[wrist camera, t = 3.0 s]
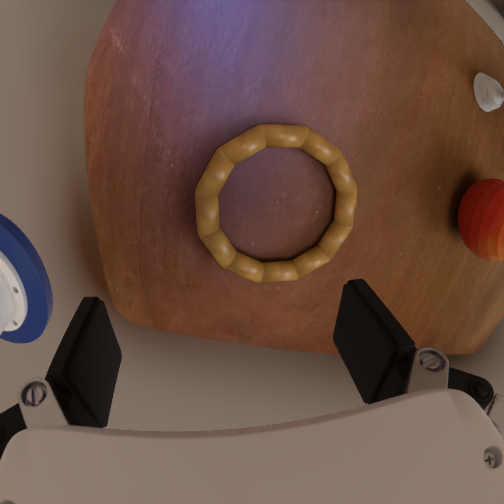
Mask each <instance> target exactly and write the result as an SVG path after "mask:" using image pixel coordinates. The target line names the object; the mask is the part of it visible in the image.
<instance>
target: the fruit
mask: <svg viewBox="0 0 504 504" xmlns="http://www.w3.org/2000/svg"><path fill="white" fill-rule="evenodd" d="M457 219H458V227H459V231H460V234H461V237H462V239H463V241H464V243H465V245H466V246H467V247H468V248H469V249H470V250H471V251H472V252H473V253H474V254H475V255H476V256H477V257H479V258H482V259H484V260H489V261H500V260H504V182H503V181H501V180H498V179H493V178H492V179H485V180H480V181H478V182H476V183H475V184H473V185H472V186H471V187H469V188H468V189H467V191H466V192H465V193H464V195H463V197H462V200H461V202H460V206H459V209H458V218H457Z"/></svg>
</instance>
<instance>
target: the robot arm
mask: <svg viewBox="0 0 504 504" xmlns="http://www.w3.org/2000/svg"><path fill="white" fill-rule="evenodd" d="M27 310H28V304H27V297H26V292H25V289H24V286H23V283H22V281H21V279H20V277H19V275H18V273H17V271H16V270H15V268H14V266H13V265H12V263H11V262H10V261H9V259H8V258H7V257H6V256H5V255H4V254H3V253H2V252H1V251H0V335H1V333H2V332H3V331H13V330H16V329H18V328H19V327H20V326H21V325H22V323H23V322H24V320H25V318H26V315H27ZM333 340H334V343H335V345H336V347H337V349H338V351H339V353H340V355H341V357H342V359H343V361H344V363H345V365H346V367H347V369H348V371H349V372H350V375H351V377H352V379H353V381H354V383H355V385H356V387H357V389H358V391H359V393H360V395H361V397H362V399H363V401H364V402H365V403H366V404H367V403H368V405H365V406H361V407H357V408H353V409H350V410H346V411H341V412H337V413H333V414H328V415H324V416H319V417H315V418H309V419H304V420H298V421H293V422H287V423H280V424H274V425H266V426H259V427H249V428H240V429H229V430H214V431H189V432H157V431H155V432H154V431H132V430H118V429H105V428H103V427H106V426H107V423H108V418H109V413H110V408H111V403H112V398H113V393H114V389H115V384H116V380H117V376H118V371H119V367H120V363H121V359H122V358H121V357H122V354H121V350H120V347H119V344H118V342H117V339H116V336H115V334H114V331H113V328H112V325H111V322H110V319H109V316H108V313H107V310H106V307H105V304H104V302H103V301H102V300H99V298H98V297H84V298H83V300H82V301H81V303H80V305H79V307H78V309H77V311H76V313H75V314H74V316H73V318H72V320H71V322H70V324H69V326H68V328H67V330H66V332H65V334H64V336H63V338H62V341H61V343H60V345H59V347H58V349H57V351H56V353H55V356H54V358H53V360H52V362H51V365H50V367H49V369H48V372H47V375H46V377H45V379H43V378H32V379H30V380H28V381H26V382H25V383H24V384H23V385H22V386H21V388H20V390H19V392H18V402H19V403H18V404H16V405H14V406H13V407H11V408H9V409H7V410H6V411H4V412H3V413H1V414H0V504H504V397H503V396H502V395H500V394H498V393H497V394H496V395H494V391H493V388H492V386H491V384H490V383H489V382H488V381H487V380H486V379H484V378H481V377H479V376H476V375H472V374H470V373H466V372H463V371H460V370H457V369H454V368H451V367H449V361H448V358H447V356H446V355H445V354H444V353H443V352H442V351H441V350H439V349H437V348H435V347H431V346H424V347H421V348H419V349H418V350H417V348H416V347H415V346H414V345H415V343H414V341H413V340H412V339H411V337H410V336H409V335H408V334H407V332H406V331H405V330H404V328H403V327H402V326H401V325H400V323H399V322H398V321H397V320H396V318H395V317H394V316H393V314H392V313H391V312H390V311H389V310H388V308H387V307H386V306H385V305H384V303H383V302H382V301H381V300H380V298H379V297H378V296H377V295H376V294H375V292H374V291H373V290H372V289H371V288H370V286H369V285H368V284H367V283H366V282H365V280H363V279H354V280H349V281H348V282H347V284H345V285H344V287H343V291H342V297H341V301H340V306H339V311H338V316H337V320H336V325H335V329H334V333H333Z"/></svg>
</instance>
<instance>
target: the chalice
mask: <svg viewBox="0 0 504 504" xmlns="http://www.w3.org/2000/svg"><path fill="white" fill-rule="evenodd" d="M474 93H475V97H476V100H477V103H478V104H479V106H480V108H481V109H483V110H484V111H486V112H488V111H491V110H494V109H496V108H499V107H500V106H501V105H502V103H503V100H504V90H503V89H502V87H501V85H500V84H499V83H498V82H497V81H496V80H495V79H492V78H491V77H489V76H487V75H486V74H484V73H478V74H477V75H476V76H475V79H474Z"/></svg>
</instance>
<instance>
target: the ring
mask: <svg viewBox="0 0 504 504" xmlns="http://www.w3.org/2000/svg"><path fill="white" fill-rule="evenodd" d="M265 147H294V148H300V149H302V150H303V151H305V152H307V153H308V154H310V155H311V156H313V157H314V158H316V159H317V160H319V161H320V162H322V163H323V164H325V166H326V169H327V171H328V173H329V175H330V177H331V179H332V182H333V184H334V186H335V188H336V190H337V193H336V203H335V213H334V220H333V222H332V223H331V225H330V227H329V228H328V230H327V231H326V233H325V234H324V236H323V237H322V239H321V240H320V242H319V243H318V245H317V246H315V247H313V248H312V249H310V250H308V251H307V252H305V253H303V254H301V255H300V256H298V257H296V258H295V259H293V260H290V261H277V262H263V263H262V262H260V261H257V260H255V259H253V258H251V257H249V256H246V255H244V254H242V253H240V252H237V251H236V250H235V249H234V247H233V246H232V244H231V243H230V242H229V240H228V239H227V237H226V236H225V234H224V233H223V231H222V230H221V228H220V227H219V206H218V194H219V193H220V191H221V189H222V187H223V185H224V184H225V182H226V180H227V178H228V176H229V175H230V173H231V171H232V169H233V168H234V166H235V165H236V164H237V163H239V162H241V161H242V160H244V159H246V158H248V157H249V156H251V155H253V154H254V153H256V152H258V151H260V150H261V149H263V148H265ZM356 198H357V186H356V183H355V181H354V178H353V176H352V173H351V171H350V169H349V166H348V164H347V162H346V159H345V157H344V155H343V153H342V151H341V150H340V149H339V148H337V147H336V146H335V145H333V144H332V143H330V142H329V141H328V140H326V139H325V138H323V137H322V136H320V135H319V134H317V133H316V132H314V131H313V130H312V129H310V128H309V127H307V126H303V125H280V124H259V125H257V126H255V127H253V128H251V129H249V130H248V131H246V132H244V133H242V134H241V135H239V136H237V137H235V138H234V139H232V140H230V141H229V142H227V143H225V144H223V145H222V146H220V147H219V148H218V149H217V150H216V151H215V153H214V155H213V157H212V158H211V160H210V162H209V164H208V166H207V168H206V169H205V171H204V173H203V175H202V177H201V179H200V181H199V183H198V184H197V186H196V189H195V206H196V221H197V233H198V236H199V237H200V239H201V240H202V241H203V243H204V244H205V245H206V247H207V248H208V250H209V251H210V252H211V254H212V255H213V256H214V258H215V259H216V260H217V262H218V263H219V264H220V266H221V267H222V268H224V269H226V270H228V271H231V272H233V273H235V274H238V275H240V276H242V277H245V278H247V279H250V280H252V281H254V282H257V283H267V282H278V281H289V280H297V279H300V278H301V277H303V276H305V275H306V274H308V273H310V272H312V271H313V270H315V269H317V268H318V267H320V266H322V265H323V264H325V263H327V262H328V261H330V260H331V259H332V258H333V256H334V255H335V253H336V252H337V250H338V249H339V247H340V246H341V244H342V243H343V241H344V240H345V238H346V237H347V235H348V234H349V232H350V231H351V229H352V227H353V222H354V214H355V206H356Z"/></svg>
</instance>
